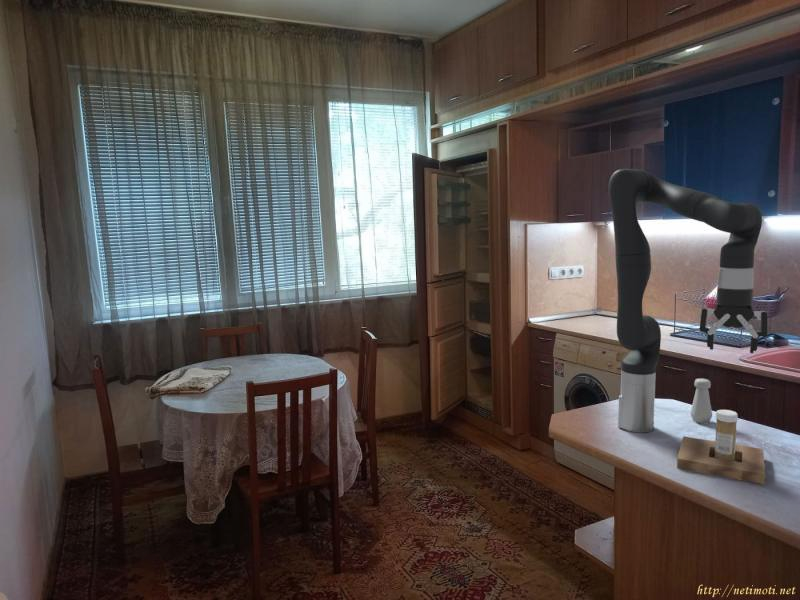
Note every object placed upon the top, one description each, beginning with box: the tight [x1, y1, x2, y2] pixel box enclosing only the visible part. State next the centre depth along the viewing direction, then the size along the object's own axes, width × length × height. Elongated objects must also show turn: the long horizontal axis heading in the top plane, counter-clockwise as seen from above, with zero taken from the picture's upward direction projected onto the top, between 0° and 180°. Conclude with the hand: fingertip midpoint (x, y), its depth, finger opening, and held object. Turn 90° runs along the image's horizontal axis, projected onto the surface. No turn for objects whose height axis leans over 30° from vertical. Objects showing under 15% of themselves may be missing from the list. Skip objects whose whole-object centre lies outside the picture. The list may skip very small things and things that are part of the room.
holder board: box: [676, 436, 766, 485], centre depth 136 cm, size 18×16×2 cm
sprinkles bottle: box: [714, 409, 739, 462], centre depth 135 cm, size 5×5×13 cm
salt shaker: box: [690, 378, 713, 425], centre depth 164 cm, size 6×6×13 cm
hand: (731, 350), depth 135 cm, fingers open, 8 cm apart
